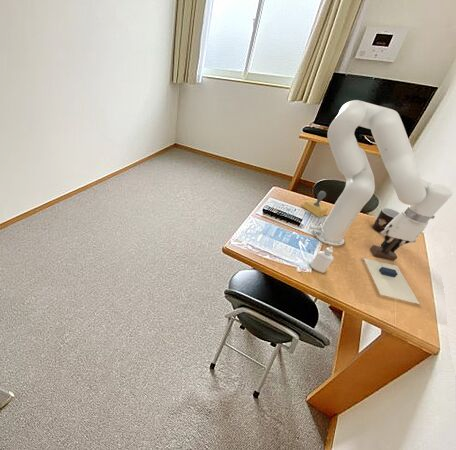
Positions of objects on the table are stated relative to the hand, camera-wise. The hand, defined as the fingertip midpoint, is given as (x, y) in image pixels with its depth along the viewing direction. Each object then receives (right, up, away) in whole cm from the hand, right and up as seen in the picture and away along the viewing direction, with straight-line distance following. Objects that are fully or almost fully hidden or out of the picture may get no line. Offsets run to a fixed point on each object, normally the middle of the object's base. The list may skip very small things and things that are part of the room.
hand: (387, 248), depth 116 cm
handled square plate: (0, -3, +3) cm, 4 cm away
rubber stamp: (-15, +18, +28) cm, 37 cm away
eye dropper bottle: (-33, -8, -6) cm, 35 cm away
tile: (-7, -12, -8) cm, 16 cm away
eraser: (-6, -10, -7) cm, 13 cm away
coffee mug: (+13, +7, +19) cm, 24 cm away
